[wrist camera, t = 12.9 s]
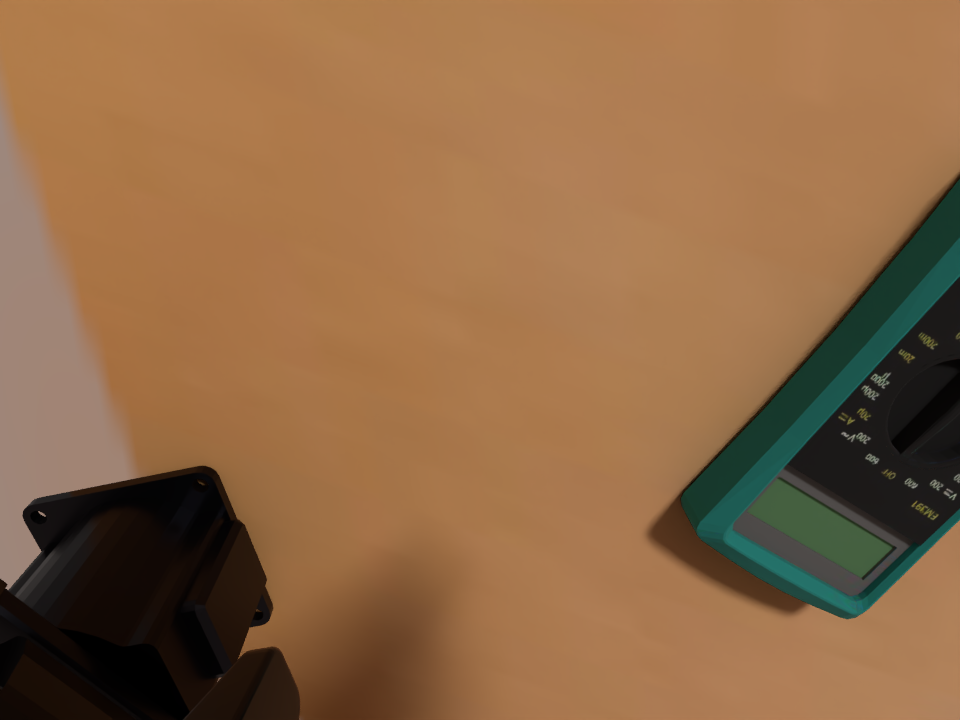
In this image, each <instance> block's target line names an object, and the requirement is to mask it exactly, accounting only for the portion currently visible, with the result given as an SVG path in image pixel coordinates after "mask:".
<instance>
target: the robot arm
mask: <svg viewBox="0 0 960 720" xmlns="http://www.w3.org/2000/svg"><path fill="white" fill-rule="evenodd" d="M197 479H202V480H205V481H206V482H207V483H208V485H201V484H199V482H198V481H197ZM38 511H40V512H42V513H44V514H45V515H46V517H44V516H42V515H40V514H39V512H38ZM23 519H24V521H25V523H26V525H27V526H28V528H29V530H30V532H31V534H32V535H33V537H34V539H35V541H36V542H37V544H38V546H39V548H40V549H41V551H42V552H41V553H40V554H39V555H38V556H37V558H36V559H35V560H34V561H33V563H31V565H30V566H29V567H28V568H27V569H26V570H25V572H24V573H23V574H22V575H21V576H20V577H19V579H18V580H17V581H16V582H15V583H14V584H13V586H12V587H11V588H10V589H9V590H7V589H5V588H6V586H7V584H6V583H5V582H4V581H3V580H1V579H0V720H299V713H300V697H299V692H298V688H297V686H296V683H295V681H294V679H293V677H292V674H291V672H290V670H289V668H288V665H287V663H286V661H285V658H284V656H283V654H282V652H281V651H280V650H279V649H278V648H277V647H267V648H261V649H255V650H250V651H247V652H246V653H244V654H243V655H242V656H241V657H240V658H239V659H238V657H239V655H240V652H241V649H242V646H243V644H244V641H245V638H246V636H247V633H248V630H249V627H255V626H260V625H263V624H266V623H267V622H268V621H269V619H270V616H271V614H272V611H273V604H272V601H271V599H270V597H269V594H268V592H267V589H266V587H265V584H266V581H267V578H266V575H265V573H264V571H263V568H262V566H261V563H260V561H259V559H258V556H257V554H256V551H255V549H254V546H253V544H252V542H251V539H250V537H249V534H248V532H247V530H246V527H245V525H244V524H243V523H242V522H241V521H240V520H238V519H237V518H236V515H235V513H234V510H233V508H232V506H231V503H230V501H229V498H228V496H227V494H226V491H225V489H224V486H223V484H222V482H221V479H220V477H219V475H218V474H217V472H216V471H215V470H213V469H212V468H210V467H207V466H197V467H192V468H187V469H182V470H177V471H172V472H167V473H162V474H157V475H152V476H147V477H142V478H136V479H131V480H126V481H121V482H116V483H111V484H107V485H101V486H97V487H91V488H86V489H81V490H77V491H71V492H66V493H61V494H56V495H51V496H46V497H41V498H37V499H35V500H33V501H32V502H31V503H30V504H29V505H28V506H27V507H26V508H25V509H24V511H23ZM256 609H258V610H260V611H262V612H257V611H256ZM220 677H222V678H221V679H220V680H219V681H218V678H220ZM217 681H218V682H217Z"/></svg>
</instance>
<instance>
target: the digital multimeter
mask: <svg viewBox="0 0 960 720" xmlns="http://www.w3.org/2000/svg"><path fill="white" fill-rule="evenodd" d="M941 296H942V297H941ZM940 297H941V298H940ZM939 298H940V299H939ZM938 299H939V300H938ZM937 300H938V301H937ZM936 301H937V302H936ZM935 302H936V303H935ZM930 308H931V309H930ZM929 309H930V310H929ZM928 310H929V311H928ZM927 311H928V312H927ZM926 312H927V313H926ZM925 313H926V314H925ZM924 314H925V315H924ZM923 315H924V316H923ZM918 321H919V322H918ZM917 322H918V323H917ZM916 323H917V324H916ZM915 324H916V325H915ZM914 325H915V326H914ZM913 326H914V327H913ZM912 327H913V328H912ZM911 328H912V329H911ZM910 329H911V330H910ZM906 334H907V335H906ZM905 335H906V336H905ZM904 336H905V337H904ZM903 337H904V338H903ZM902 338H903V339H902ZM901 339H902V340H901ZM900 340H901V341H900ZM899 341H900V342H899ZM898 342H899V343H898ZM897 343H898V344H897ZM894 347H895V348H894ZM893 348H894V349H893ZM892 349H893V350H892ZM891 350H892V351H891ZM890 351H891V352H890ZM889 352H890V353H889ZM888 353H889V354H888ZM887 354H888V355H887ZM886 355H887V356H886ZM885 356H886V357H885ZM883 359H884V360H883ZM882 360H883V361H882ZM881 361H882V362H881ZM880 362H881V363H880ZM879 363H880V364H879ZM878 364H879V365H878ZM877 365H878V366H877ZM876 366H877V367H876ZM875 367H876V368H875ZM874 368H875V369H874ZM873 369H874V370H873ZM871 372H872V373H871ZM870 373H871V374H870ZM869 374H870V375H869ZM868 375H869V376H868ZM867 376H868V377H867ZM866 377H867V378H866ZM865 378H866V379H865ZM864 379H865V380H864ZM863 380H864V381H863ZM862 381H863V382H862ZM859 385H860V386H859ZM858 386H859V387H858ZM857 387H858V388H857ZM856 388H857V389H856ZM855 389H856V390H855ZM854 390H855V391H854ZM853 391H854V392H853ZM852 392H853V393H852ZM851 393H852V394H851ZM847 398H848V399H847ZM846 399H847V400H846ZM845 400H846V401H845ZM844 401H845V402H844ZM843 402H844V403H843ZM842 403H843V404H842ZM841 404H842V405H841ZM840 405H841V406H840ZM839 406H840V407H839ZM836 410H837V411H836ZM835 411H836V412H835ZM834 412H835V413H834ZM833 413H834V414H833ZM832 414H833V415H832ZM831 415H832V416H831ZM830 416H831V417H830ZM829 417H830V418H829ZM828 418H829V419H828ZM824 423H825V424H824ZM823 424H824V425H823ZM822 425H823V426H822ZM821 426H822V427H821ZM820 427H821V428H820ZM819 428H820V429H819ZM818 429H819V430H818ZM817 430H818V431H817ZM812 436H813V437H812ZM811 437H812V438H811ZM810 438H811V439H810ZM809 439H810V440H809ZM808 440H809V441H808ZM807 441H808V442H807ZM806 442H807V443H806ZM800 449H801V450H800ZM799 450H800V451H799ZM798 451H799V452H798ZM797 452H798V453H797ZM796 453H797V454H796ZM892 454H893V455H892ZM789 461H790V462H789ZM900 461H901V462H900ZM902 462H903V463H902ZM911 466H912V467H911ZM919 468H921V469H919ZM681 505H682V507H683V509H684V511H685V513H686V515H687V517H688V519H689V521H690V523H691V524H692V526H693V528H694V530H695V532H696V534H697V536H698V537H699V538H700V539H701V540H702V541H704V542H705V543H706V544H708V545H709V546H711V547H712V548H714V549H715V550H716V551H718V552H719V553H721V554H722V555H724V556H725V557H727V558H728V559H729V560H731V561H732V562H734V563H736V564H737V565H739V566H740V567H742V568H743V569H745V570H746V571H748V572H750V573H751V574H753V575H754V576H756V577H757V578H759V579H761V580H763V581H765V582H766V583H768V584H770V585H772V586H774V587H775V588H777V589H779V590H781V591H783V592H785V593H787V594H789V595H791V596H793V597H795V598H797V599H799V600H802V601H804V602H806V603H808V604H810V605H812V606H815V607H817V608H819V609H822V610H824V611H826V612H829V613H831V614H834V615H836V616H838V617H841V618H845V619H851V618H856V617H857V616H859V615H860V614H862V613H864V612H865V611H866V610H868V609H869V608H870V607H871V606H872V605H873V604H874V603H875V602H876V601H877V600H878V599H879V598H880V597H881V596H882V595H883V594H884V593H885V592H886V591H887V590H888V589H889V588H890V587H891V586H892V585H894V584H895V583H896V582H897V581H898V580H899V579H900V578H901V577H902V576H903V575H904V574H905V573H906V572H907V571H908V570H909V569H910V568H911V567H912V566H913V565H914V564H915V563H916V562H917V561H918V560H919V559H920V558H921V557H922V556H923V555H924V554H925V553H926V552H927V551H928V550H929V549H930V548H931V547H932V546H933V545H934V544H935V543H936V542H937V541H938V540H939V539H940V538H941V537H942V536H943V535H945V534H946V533H947V532H948V531H949V530H950V529H951V528H952V527H953V526H954V525H955V524H956V523H957V522H958V521H959V520H960V179H959V180H958V182H957V183H956V184H955V185H954V187H953V188H952V189H951V191H950V192H949V193H948V194H947V196H946V197H945V198H944V199H943V201H942V202H941V203H940V204H939V206H938V207H937V208H936V209H935V211H934V212H933V213H932V214H931V216H930V217H929V218H928V219H927V221H926V222H925V223H924V224H923V226H922V227H921V228H920V229H919V231H918V232H917V233H916V235H915V236H914V237H913V238H912V239H911V241H910V242H909V243H908V244H907V245H906V246H905V248H904V249H903V250H902V251H901V252H900V253H899V254H898V256H897V257H896V258H895V259H894V260H893V261H892V263H891V264H890V265H889V266H888V267H887V268H886V270H885V271H884V272H883V273H882V274H881V276H880V277H879V278H878V279H877V280H876V282H875V283H874V284H873V285H872V286H871V288H870V289H869V290H868V291H867V292H866V294H865V295H864V296H863V297H862V298H861V300H860V301H859V302H858V303H857V304H856V306H855V307H854V308H853V309H852V310H851V312H850V313H849V314H848V315H847V316H846V318H845V319H844V320H843V321H842V322H841V324H840V325H839V326H838V327H837V328H836V329H835V330H834V332H833V333H832V334H831V335H830V336H829V337H828V338H827V339H826V340H825V342H824V343H823V344H822V345H821V346H820V347H819V348H818V349H817V350H816V352H815V353H814V354H813V355H812V356H811V357H810V358H809V359H808V360H807V362H806V363H805V364H804V365H803V366H802V367H801V368H800V369H799V370H798V372H797V373H796V374H795V375H794V376H793V377H792V378H791V379H790V381H789V382H788V383H787V384H786V385H785V386H784V387H783V388H782V390H781V391H780V392H779V393H778V394H777V395H776V396H775V397H774V399H773V400H772V401H771V402H770V403H769V404H768V405H767V407H766V408H765V409H764V410H763V411H762V412H761V413H760V414H759V415H758V416H757V417H756V418H755V419H754V420H753V421H752V422H751V423H750V424H749V425H748V426H747V427H746V428H745V429H744V430H743V431H742V432H741V434H740V435H739V436H738V437H737V438H736V439H735V440H734V441H733V442H732V443H731V444H730V445H729V446H728V447H727V448H726V449H725V450H724V451H723V452H722V453H721V454H720V455H719V456H718V457H717V458H716V459H715V461H714V462H713V463H712V464H711V465H710V466H709V467H708V468H707V469H706V470H705V471H704V472H703V473H702V474H701V475H700V476H699V477H698V478H697V479H696V480H695V482H694V483H693V484H692V485H691V486H690V487H689V488H688V489H687V490H686V491H685V492H684V493H683V495H682V497H681Z"/></svg>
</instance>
